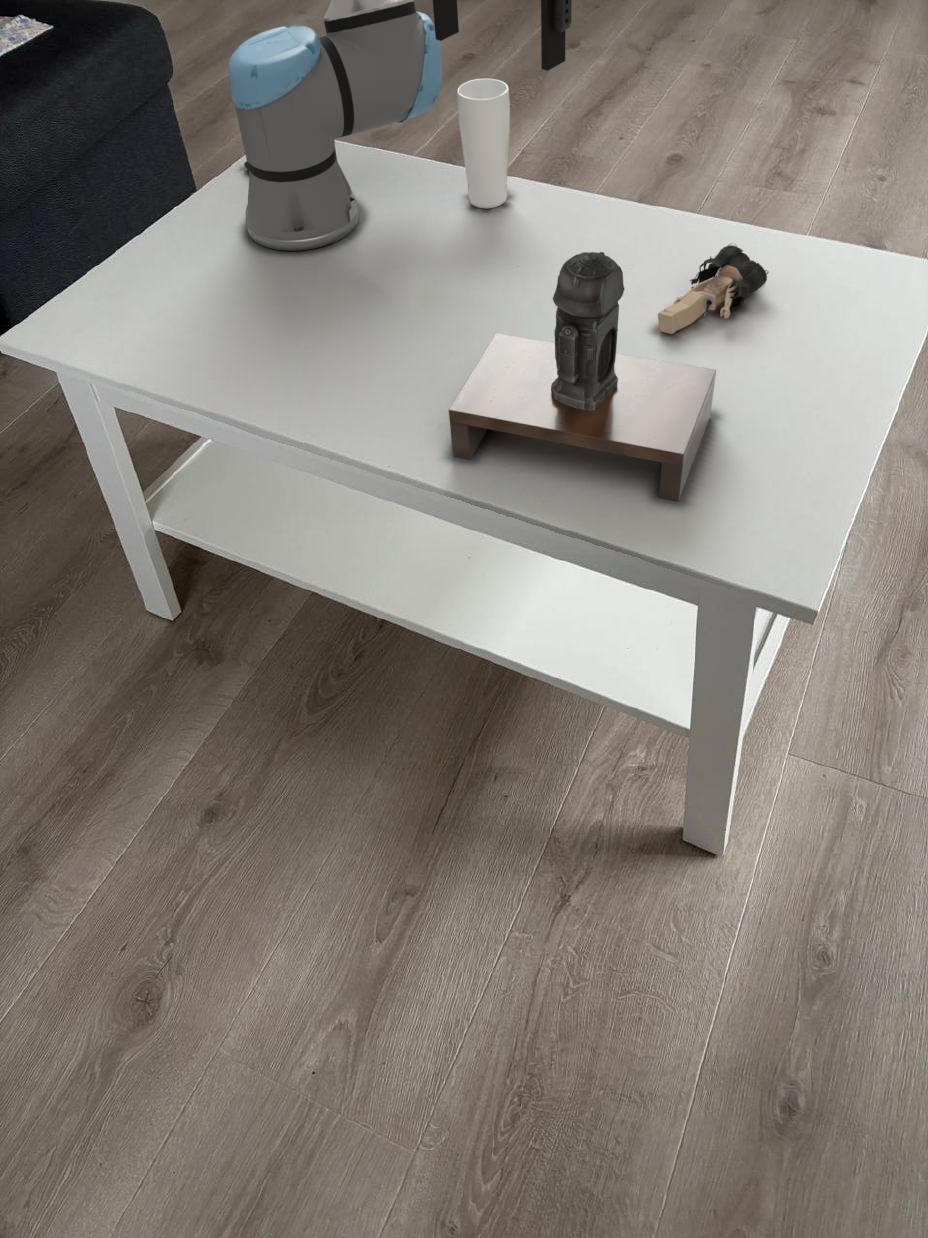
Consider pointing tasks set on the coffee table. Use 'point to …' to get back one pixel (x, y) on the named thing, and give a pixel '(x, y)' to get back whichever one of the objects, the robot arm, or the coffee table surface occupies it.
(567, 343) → the toy
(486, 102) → the drinking glass
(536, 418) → the shelf
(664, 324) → the toy figure
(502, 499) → the coffee table surface
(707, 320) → the coffee table surface
